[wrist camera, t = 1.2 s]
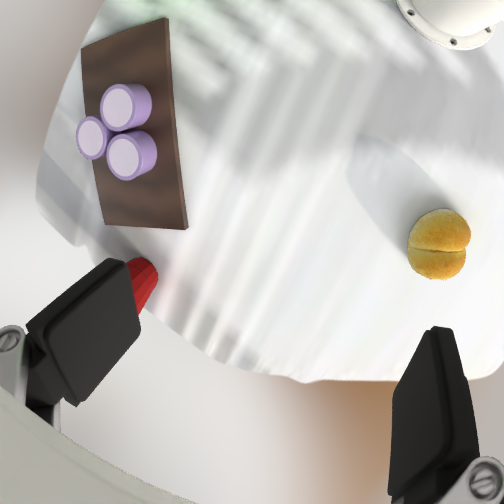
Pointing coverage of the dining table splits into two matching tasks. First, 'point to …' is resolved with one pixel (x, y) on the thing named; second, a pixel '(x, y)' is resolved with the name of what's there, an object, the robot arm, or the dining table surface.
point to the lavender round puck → (131, 154)
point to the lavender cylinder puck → (94, 137)
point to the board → (157, 126)
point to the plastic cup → (142, 280)
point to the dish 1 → (125, 106)
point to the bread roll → (438, 244)
